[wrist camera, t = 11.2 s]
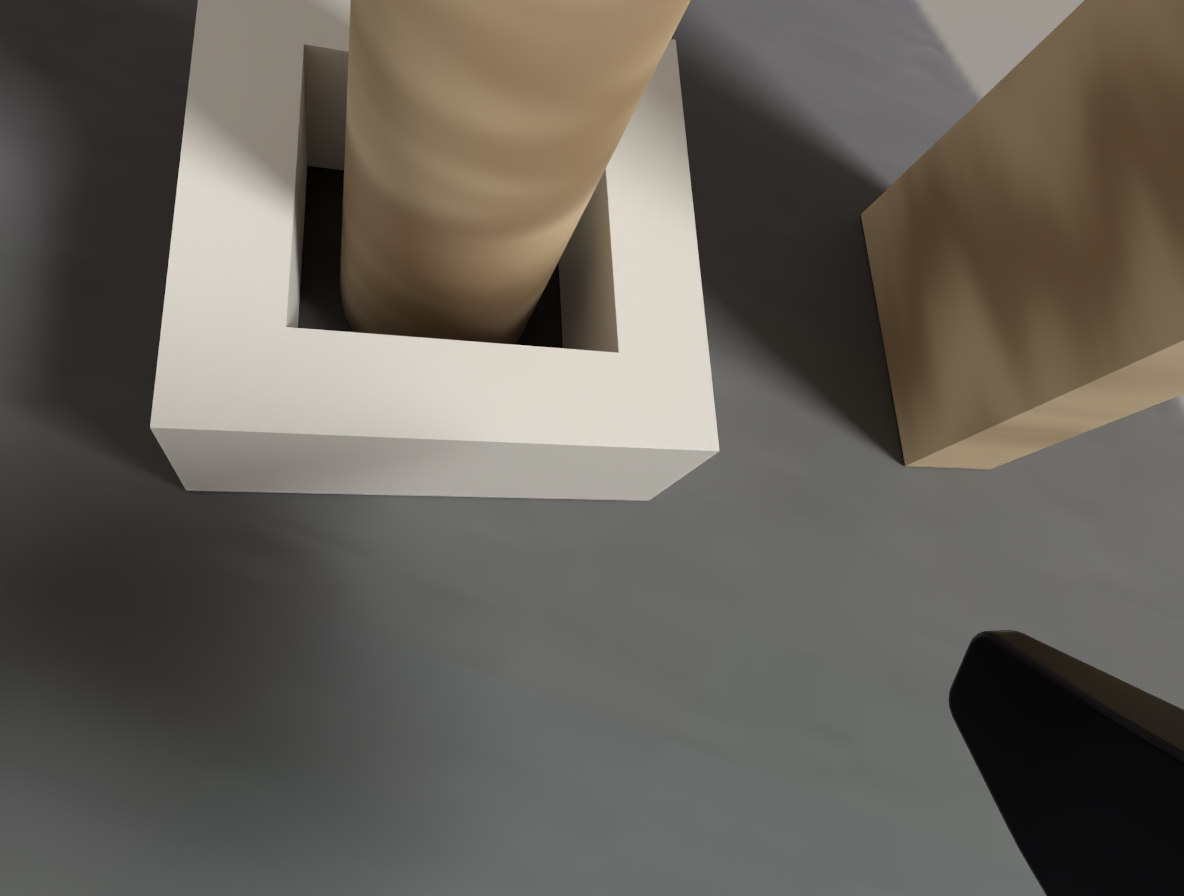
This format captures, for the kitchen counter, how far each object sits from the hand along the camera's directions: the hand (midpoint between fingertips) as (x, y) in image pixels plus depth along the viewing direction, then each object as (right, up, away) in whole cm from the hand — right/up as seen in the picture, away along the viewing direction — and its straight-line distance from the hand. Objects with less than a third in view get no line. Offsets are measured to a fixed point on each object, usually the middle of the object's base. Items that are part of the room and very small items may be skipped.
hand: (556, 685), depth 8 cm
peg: (-3, +6, +10) cm, 12 cm away
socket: (-3, +6, +10) cm, 12 cm away
